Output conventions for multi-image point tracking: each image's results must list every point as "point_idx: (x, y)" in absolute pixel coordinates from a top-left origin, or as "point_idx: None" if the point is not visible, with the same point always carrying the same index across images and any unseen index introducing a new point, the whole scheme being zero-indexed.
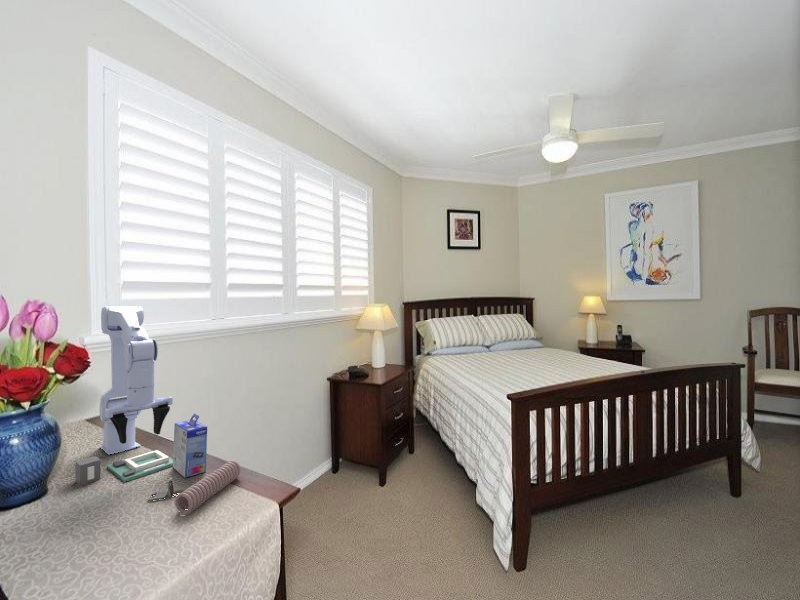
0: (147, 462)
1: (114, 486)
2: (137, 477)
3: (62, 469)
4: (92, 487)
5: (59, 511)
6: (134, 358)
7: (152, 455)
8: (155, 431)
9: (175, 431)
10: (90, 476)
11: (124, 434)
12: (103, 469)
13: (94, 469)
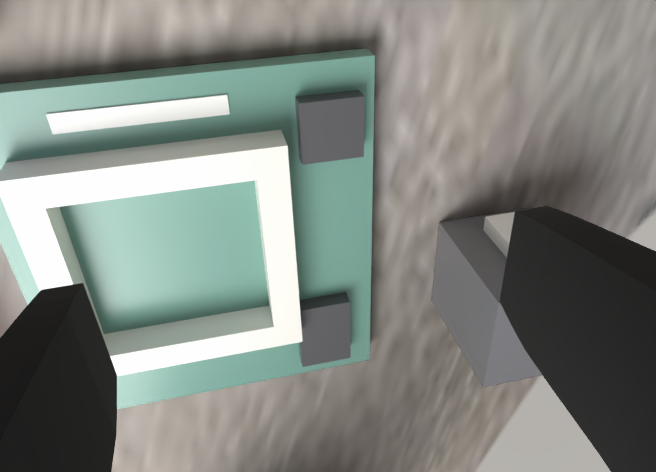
0: (187, 188)
1: (433, 29)
2: (279, 57)
3: (489, 435)
4: (511, 128)
5: None
6: None
7: (119, 339)
8: (97, 362)
9: None
10: (512, 224)
11: (649, 263)
12: (381, 340)
13: (502, 261)
